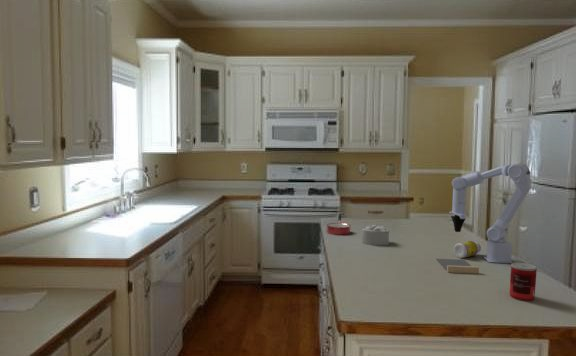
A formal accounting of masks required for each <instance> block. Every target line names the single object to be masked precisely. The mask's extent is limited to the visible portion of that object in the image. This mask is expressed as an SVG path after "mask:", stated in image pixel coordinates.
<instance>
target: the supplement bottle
mask: <svg viewBox="0 0 576 356" xmlns="http://www.w3.org/2000/svg"><path fill="white" fill-rule="evenodd" d="M481 251H482V245H481V244H480V243H479V242H476V241H473V240H469V241H465V242H464V241H463V242H459V243H455V245H454V247H453V253H454V255H455V256H456V257H457V258H459V259H462V258H463V259H464V258H468V257H473V256H476V255H477V254H478V253H480V252H481Z"/></svg>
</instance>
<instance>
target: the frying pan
mask: <svg viewBox="0 0 576 356" xmlns="http://www.w3.org/2000/svg"><path fill="white" fill-rule="evenodd" d="M337 218H338V219H337V222H330V223H327V224H326V233H328V234H330V235H333V234H334V235H335V236H345V235H349V234H351V224H348V223H343V222H341V221H342V214H341V213H338V217H337Z"/></svg>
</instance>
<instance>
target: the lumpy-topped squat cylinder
mask: <svg viewBox="0 0 576 356" xmlns="http://www.w3.org/2000/svg"><path fill="white" fill-rule="evenodd" d="M361 230H362V231H361V244H364V245H369V246H389V239H390V237H389V236H390V233H389V232H390V230H388V228H387V227H385V226H383V225H377V224H372V225H366V227H363V228H362V229H361Z"/></svg>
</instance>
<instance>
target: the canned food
mask: <svg viewBox="0 0 576 356" xmlns="http://www.w3.org/2000/svg"><path fill="white" fill-rule="evenodd" d="M510 264H511V265H510V277H509V278H510V279H509V281H510V282H509V296H510V297H511V298H513V299H515V300H518V301H523V302H531V301H534V300H535V297H536V286H537V285H536V284H537V283H536V282H537V270H538V269H537V266H536V265H534V264H531V263H526V262H512V263H510Z"/></svg>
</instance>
